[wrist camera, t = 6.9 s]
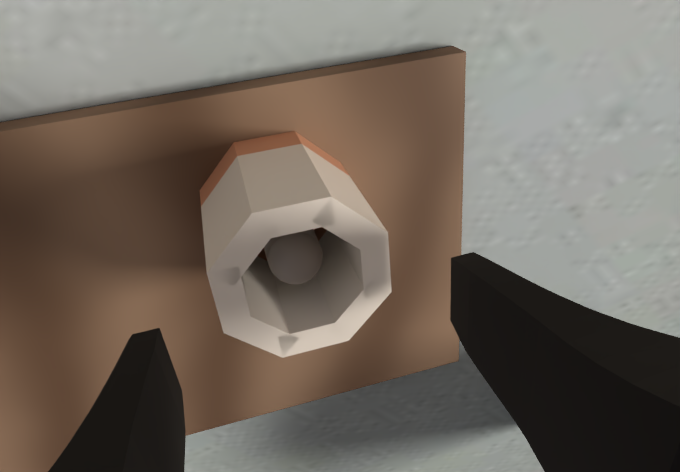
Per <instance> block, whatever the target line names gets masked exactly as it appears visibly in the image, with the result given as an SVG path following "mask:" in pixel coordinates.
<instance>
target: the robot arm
mask: <svg viewBox="0 0 680 472" xmlns="http://www.w3.org/2000/svg"><path fill="white" fill-rule="evenodd" d="M450 321H451V323H452V325H453V327H454V329H455V331H456V333H457V335H458V337H459V339H460V341H461V342H462V344H463V346H464V348H465V350H466V352H467V354H468V355H469V356H470V358H471V359H472V361H473V362H474V364H475V365H476V367H477V368H478V370H479V371H480V372H481V374H482V375H483V377H484V378H485V380H486V381H487V382H488V384H489V385H490V387H491V388H492V389H493V391H494V392H495V394H496V395H497V397H498V398H499V399H500V401H501V402H502V404H503V405H504V406H505V408H506V409H507V411H508V412H509V413H510V415H511V416H512V418H513V419H514V421H515V422H516V423H517V425H518V427H519V428H520V430H521V431H522V433H523V434H524V436H525V437H526V439H527V441H528V443H529V444H530V446H531V448H532V450H533V452H534V453H535V455H536V457H537V459H538V460H539V462H540V464H541V466H542V468H543V469H544V471H545V472H680V338H678V337H674V336H671V335H667V334H664V333H660V332H657V331H653V330H650V329H646V328H643V327H640V326H636V325H633V324H630V323H627V322H624V321H622V320H619V319H616V318H613V317H610V316H608V315H605V314H602V313H599V312H597V311H594V310H592V309H589V308H587V307H584V306H582V305H580V304H577V303H575V302H573V301H571V300H568V299H566V298H564V297H561V296H559V295H557V294H555V293H553V292H551V291H549V290H547V289H544V288H542V287H540V286H538V285H536V284H534V283H532V282H530V281H528V280H526V279H525V278H523V277H521V276H519V275H517V274H515V273H513V272H511V271H509V270H507V269H505V268H503V267H502V266H500V265H498V264H496V263H494V262H492V261H490V260H488V259H486V258H484V257H482V256H480V255H478V254H476V253H474V252H472V253H468V254H464V255H460V256H456V257H452V258H451V303H450ZM185 431H186V430H185V417H184V405H183V395H182V389H181V386H180V383H179V380H178V378H177V375H176V372H175V369H174V367H173V364H172V361H171V358H170V355H169V353H168V350H167V347H166V344H165V342H164V339H163V336H162V333H161V331H160V328H156V329H152V330H148V331H144V332H140V333H135V334H132V335H131V337H130V338H129V340H128V342H127V344H126V346H125V348H124V350H123V351H122V353H121V355H120V357H119V359H118V361H117V363H116V365H115V367H114V369H113V371H112V372H111V374H110V376H109V378H108V380H107V382H106V383H105V385H104V387H103V389H102V390H101V392H100V394H99V396H98V397H97V399H96V401H95V402H94V404H93V406H92V408H91V409H90V411H89V413H88V414H87V416H86V417H85V419H84V420H83V422H82V423H81V425H80V426H79V428H78V430H77V431H76V433H75V434H74V436H73V437H72V439H71V440H70V442H69V443H68V445H67V446H66V448H65V449H64V450H63V452H62V453H61V455H60V456H59V457H58V459H57V460H56V462H55V463H54V464H53V466H52V467H51V468H50V470H49V471H48V472H184V460H185Z"/></svg>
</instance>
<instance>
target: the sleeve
mask: <svg viewBox="0 0 680 472" xmlns="http://www.w3.org/2000/svg"><path fill="white" fill-rule="evenodd" d="M200 201H201V213H202V225H203V236H204V248H205V260H206V271H207V276H208V279H209V283H210V287H211V290H212V294H213V297H214V301H215V304H216V308H217V311H218V315H219V319H220V322H221V326H222V329H223V333H225V334H227V335H229V336H232V337H234V338H237V339H239V340H241V341H244V342H246V343H249V344H251V345H253V346H256V347H258V348H260V349H263V350H265V351H268V352H270V353H272V354H275V355H277V356H280V357H282V358H284V357H288V356H291V355H295V354H299V353H303V352H307V351H311V350H315V349H319V348H322V347H326V346H330V345H334V344H338V343H342V342H346V341H349V340H350V339H351V338H352V336H353V335H354V334H355V333H356V332H357V331H358V330H359V328H360V327H361V326H362V325H363V324H364V323H365V322H366V320H367V319H368V318H369V317H370V316H371V315H372V314H373V312H374V311H375V310H376V309H377V308H378V307H379V306H380V305H381V303H382V302H383V301H384V300H385V299H386V298H387V297H388V295H389V294H390V293H391V292H392V290H391V273H390V257H389V241H388V232H387V230H386V229H385V227H384V226H383V224H382V223H381V221H380V220H379V218H378V217H377V216H376V214H375V213H374V211H373V210H372V208H371V207H370V205H369V204H368V202H367V201H366V199H365V198H364V196H363V195H362V193H361V192H360V190H359V189H358V188H357V186H356V185H355V183H354V182H353V180H352V179H351V177H350V176H349V174H348V173H347V171H346V170H345V168H344V167H343V165H342V164H341V162H339V161H338V160H336V159H335V158H333V157H332V156H330V155H329V154H327V153H326V152H324V151H323V150H322V149H320V148H319V147H317V146H316V145H314V144H313V143H311V142H310V141H308V140H307V139H305V138H304V137H303V136H301V135H300V134H298V133H297V132H295V131H292V132H286V133H281V134H275V135H270V136H265V137H259V138H254V139H249V140H243V141H238V142H233V144H232V145H231V147H230V148H229V150H228V151H227V152H226V154H225V155H224V157H223V158H222V160H221V161H220V162H219V164H218V165H217V167H216V168H215V169H214V171H213V172H212V174H211V175H210V177H209V178H208V179H207V181H206V182H205V184H204V185H203V186H202V188H201V189H200ZM311 229H313V230H314V232H315V235H316V237H317V239H318V241H319V244H320V246H321V249H322V254H323V260H322V265H321V268H320V270H319V271H318V273H317V274H316V275H315V276H314V277H313V278H312V279H311V280H309V281H307V282H305V283H302V284H288V283H285V282H283V281H281V280H279V279H278V278H277V277H276V276H275V275H274V274H273V273H272V271H271V270H270V268H269V265H268V261H267V257H266V254H265V250H264V247H265V245H266V244H267V243H268V241H269V240H270V239H271V238H274V237H279V236H283V235H288V234H293V233H297V232H302V231H306V230H311Z"/></svg>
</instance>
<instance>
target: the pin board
mask: <svg viewBox="0 0 680 472" xmlns="http://www.w3.org/2000/svg"><path fill="white" fill-rule="evenodd" d="M465 65H466V52H465V51H463V50H460V49H458V48H456V47H454V46H450V47H444V48H438V49H432V50H426V51H420V52H414V53H408V54H402V55H397V56H391V57H385V58H379V59H373V60H367V61H361V62H355V63H349V64H343V65H337V66H331V67H325V68H319V69H314V70H308V71H302V72H296V73H290V74H284V75H278V76H272V77H266V78H260V79H254V80H248V81H242V82H236V83H231V84H225V85H219V86H213V87H207V88H201V89H195V90H189V91H183V92H177V93H171V94H165V95H159V96H153V97H147V98H142V99H136V100H130V101H124V102H118V103H112V104H106V105H100V106H94V107H88V108H82V109H76V110H70V111H64V112H59V113H53V114H47V115H41V116H35V117H29V118H23V119H17V120H11V121H5V122H0V472H48V471H49V470H50V468H51V467H52V466H53V464H54V463H55V462H56V460H57V459H58V457H59V456H60V455H61V453H62V452H63V450H64V449H65V448H66V446H67V445H68V443H69V442H70V440H71V439H72V437H73V436H74V434H75V433H76V431H77V430H78V428H79V426H80V425H81V423H82V422H83V420H84V419H85V417H86V416H87V414H88V413H89V411H90V409H91V408H92V406H93V404H94V402H95V401H96V399H97V397H98V396H99V394H100V392H101V390H102V389H103V387H104V385H105V383H106V382H107V380H108V378H109V376H110V374H111V372H112V371H113V369H114V367H115V365H116V363H117V361H118V359H119V357H120V355H121V353H122V351H123V350H124V348H125V346H126V344H127V342H128V340H129V338H130V337H131V335H132V334H135V333H140V332H144V331H148V330H152V329H156V328H160V331H161V333H162V336H163V339H164V342H165V344H166V347H167V350H168V353H169V355H170V358H171V361H172V364H173V367H174V369H175V372H176V375H177V378H178V380H179V383H180V386H181V389H182V395H183V405H184V417H185V430H186V431H185V436H186V435H190V434H193V433H197V432H201V431H204V430H208V429H212V428H215V427H219V426H222V425H226V424H230V423H233V422H237V421H241V420H244V419H248V418H252V417H255V416H259V415H263V414H266V413H270V412H274V411H277V410H281V409H285V408H288V407H292V406H296V405H299V404H303V403H307V402H310V401H314V400H317V399H321V398H325V397H328V396H332V395H336V394H339V393H343V392H347V391H350V390H354V389H358V388H361V387H365V386H369V385H372V384H376V383H380V382H383V381H387V380H391V379H394V378H398V377H401V376H405V375H409V374H412V373H416V372H420V371H423V370H427V369H431V368H434V367H438V366H442V365H445V364H449V363H453V362H456V361H459V337H458V335H457V333H456V331H455V329H454V327H453V325H452V323H451V321H450V303H451V258H452V257H456V256H460V255H461V237H462V194H463V151H464V108H465ZM292 131H295V132H297V133H298V134H300V135H301V136H303V137H304V138H305V139H307V140H308V141H310V142H311V143H313V144H314V145H316V146H317V147H319V148H320V149H322V150H323V151H324V152H326V153H327V154H329V155H330V156H332V157H333V158H335V159H336V160H338V161H339V162H341V164H342V165H343V167H344V168H345V170H346V171H347V173H348V174H349V176H350V177H351V179H352V180H353V182H354V183H355V185H356V186H357V188H358V189H359V190H360V192H361V193H362V195H363V196H364V198H365V199H366V201H367V202H368V204H369V205H370V207H371V208H372V210H373V211H374V213H375V214H376V216H377V217H378V218H379V220H380V221H381V223H382V224H383V226H384V227H385V229H386V230H387V232H388V241H389V257H390V273H391V290H392V292H391V293H390V294H389V295H388V297H387V298H386V299H385V300H384V301H383V302H382V303H381V305H380V306H379V307H378V308H377V309H376V310H375V311H374V312H373V314H372V315H371V316H370V317H369V318H368V319H367V320H366V322H365V323H364V324H363V325H362V326H361V327H360V328H359V330H358V331H357V332H356V333H355V334H354V335H353V336H352V338H351V339H350V340H349V341H346V342H342V343H338V344H334V345H330V346H326V347H322V348H319V349H315V350H311V351H307V352H303V353H299V354H295V355H291V356H288V357H284V358H282V357H280V356H277V355H275V354H272V353H270V352H268V351H265V350H263V349H260V348H258V347H256V346H253V345H251V344H249V343H246V342H244V341H241V340H239V339H237V338H234V337H232V336H229V335H227V334H225V333H223V329H222V326H221V322H220V319H219V315H218V311H217V308H216V304H215V301H214V297H213V294H212V290H211V287H210V283H209V279H208V276H207V271H206V260H205V248H204V236H203V225H202V213H201V201H200V189H201V188H202V186H203V185H204V184H205V182H206V181H207V179H208V178H209V177H210V175H211V174H212V172H213V171H214V169H215V168H216V167H217V165H218V164H219V162H220V161H221V160H222V158H223V157H224V155H225V154H226V152H227V151H228V150H229V148H230V147H231V145H232V144H233V142H238V141H243V140H249V139H254V138H259V137H265V136H270V135H275V134H281V133H286V132H292ZM264 250H265V254H266V257H267V261H268V265H269V268H270V270H271V271H272V273H273V274H274V275H275V276H276V277H277V278H278V279H279V280H281V281H283V282H285V283H288V284H302V283H305V282H307V281H309V280H311V279H312V278H313V277H314V276H315V275H316V274H317V273H318V271H319V270H320V268H321V265H322V260H323V254H322V249H321V246H320V244H319V241H318V239H317V237H316V235H315V232H314V230H313V229H311V230H306V231H302V232H297V233H293V234H288V235H283V236H279V237H274V238H271V239H270V240H269V241H268V243H267V244H266V245H265V247H264Z"/></svg>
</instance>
